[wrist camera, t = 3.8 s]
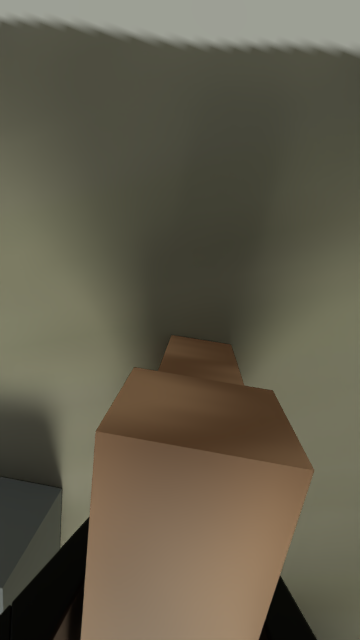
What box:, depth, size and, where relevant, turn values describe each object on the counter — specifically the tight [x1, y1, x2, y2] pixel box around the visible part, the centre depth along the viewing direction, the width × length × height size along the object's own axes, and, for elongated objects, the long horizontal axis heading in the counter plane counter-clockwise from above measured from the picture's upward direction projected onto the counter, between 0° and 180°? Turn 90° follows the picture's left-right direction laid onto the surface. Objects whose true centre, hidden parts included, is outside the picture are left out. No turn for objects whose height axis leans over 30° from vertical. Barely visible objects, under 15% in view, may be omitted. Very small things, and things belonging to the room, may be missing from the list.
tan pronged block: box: [81, 335, 314, 640], centre depth 9 cm, size 4×10×6 cm, turn 172°
